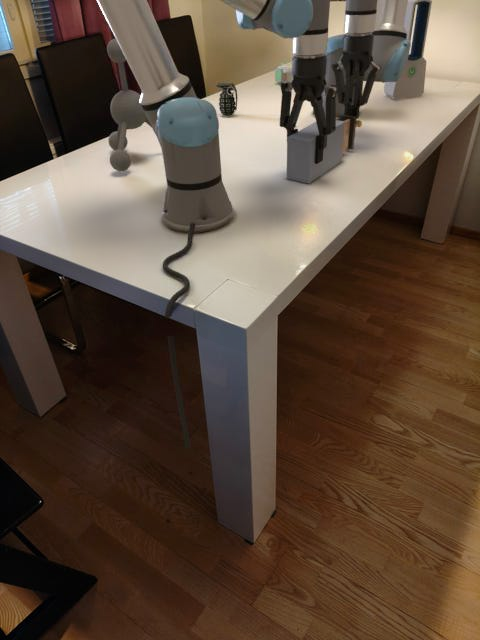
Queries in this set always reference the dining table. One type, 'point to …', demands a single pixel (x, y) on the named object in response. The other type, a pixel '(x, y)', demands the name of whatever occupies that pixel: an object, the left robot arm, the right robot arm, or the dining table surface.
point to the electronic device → (413, 53)
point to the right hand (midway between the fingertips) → (350, 131)
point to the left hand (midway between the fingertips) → (305, 159)
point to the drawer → (349, 130)
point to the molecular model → (123, 112)
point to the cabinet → (312, 153)
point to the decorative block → (284, 72)
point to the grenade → (227, 99)
